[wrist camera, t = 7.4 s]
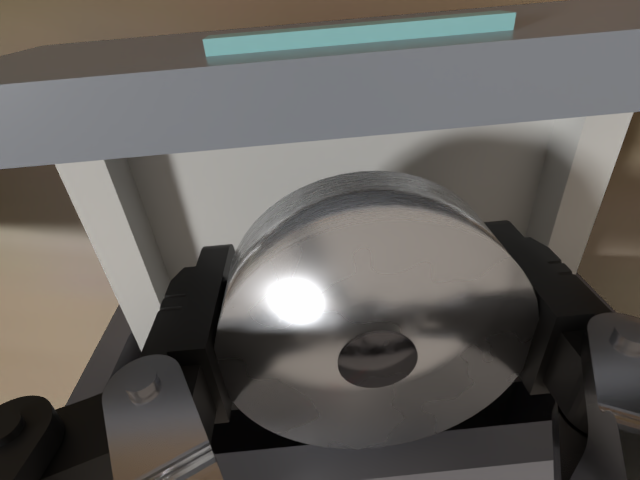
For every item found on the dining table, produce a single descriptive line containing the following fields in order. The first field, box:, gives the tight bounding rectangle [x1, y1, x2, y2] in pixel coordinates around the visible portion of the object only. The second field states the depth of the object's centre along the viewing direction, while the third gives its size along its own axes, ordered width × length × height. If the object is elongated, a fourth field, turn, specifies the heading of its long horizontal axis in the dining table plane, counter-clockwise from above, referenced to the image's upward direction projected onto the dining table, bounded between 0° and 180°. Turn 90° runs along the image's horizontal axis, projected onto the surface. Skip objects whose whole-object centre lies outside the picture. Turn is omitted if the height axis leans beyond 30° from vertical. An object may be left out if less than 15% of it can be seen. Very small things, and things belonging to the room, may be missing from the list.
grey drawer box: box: [0, 0, 640, 410], centre depth 11 cm, size 13×15×6 cm
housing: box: [65, 273, 616, 480], centre depth 17 cm, size 13×18×8 cm
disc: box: [214, 171, 539, 449], centre depth 9 cm, size 6×6×2 cm
